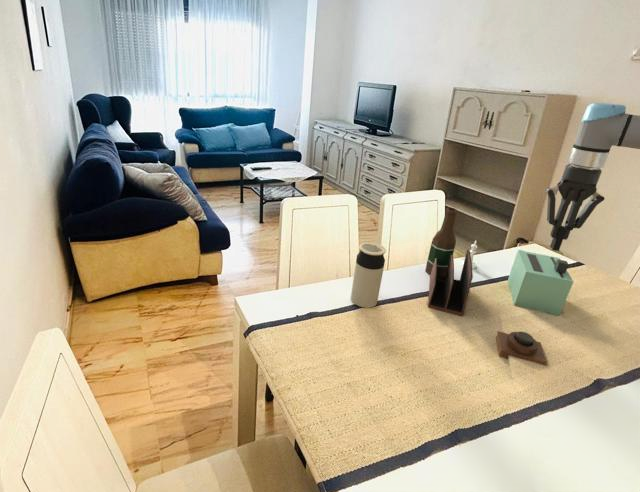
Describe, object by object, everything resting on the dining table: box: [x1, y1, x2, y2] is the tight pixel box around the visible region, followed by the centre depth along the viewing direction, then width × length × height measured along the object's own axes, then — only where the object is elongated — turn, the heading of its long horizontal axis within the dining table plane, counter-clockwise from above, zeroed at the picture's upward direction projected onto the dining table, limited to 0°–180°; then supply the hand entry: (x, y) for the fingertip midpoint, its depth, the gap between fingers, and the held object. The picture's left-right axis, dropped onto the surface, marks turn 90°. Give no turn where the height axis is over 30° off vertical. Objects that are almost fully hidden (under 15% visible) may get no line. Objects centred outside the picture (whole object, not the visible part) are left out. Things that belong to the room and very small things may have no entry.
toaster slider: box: [554, 259, 569, 273], centre depth 114 cm, size 2×2×3 cm
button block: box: [495, 330, 548, 366], centre depth 98 cm, size 10×8×4 cm
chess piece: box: [461, 240, 478, 269], centre depth 139 cm, size 5×5×10 cm
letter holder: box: [427, 249, 474, 317], centre depth 119 cm, size 10×20×14 cm, turn 158°
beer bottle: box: [425, 207, 458, 277], centre depth 130 cm, size 8×8×24 cm
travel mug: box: [350, 242, 387, 309], centre depth 113 cm, size 8×8×18 cm
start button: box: [515, 331, 534, 346], centre depth 97 cm, size 4×4×2 cm
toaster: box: [507, 249, 574, 317], centre depth 121 cm, size 12×16×12 cm
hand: (554, 248), depth 107 cm, fingers closed
